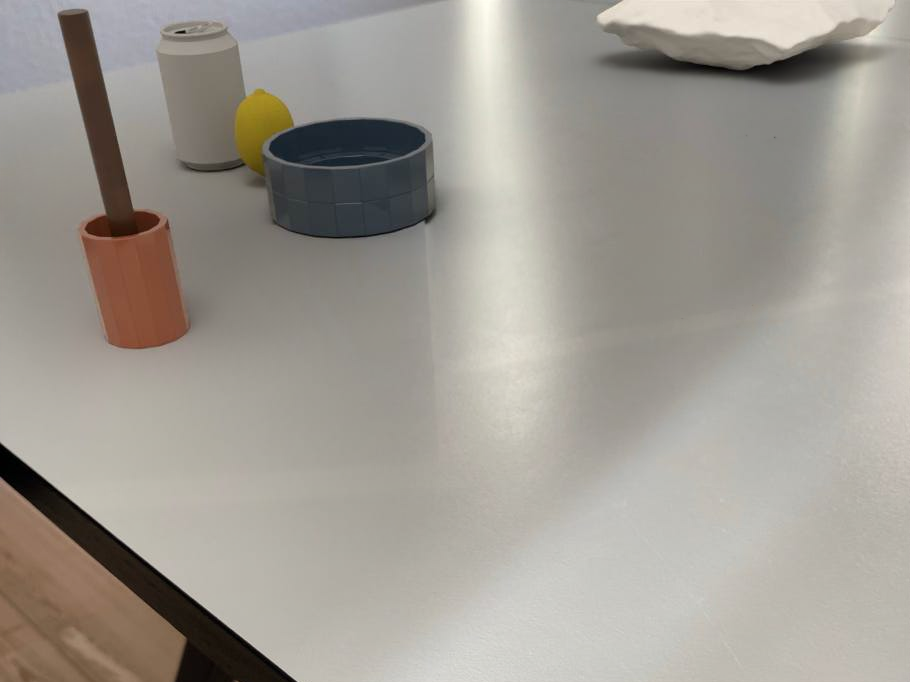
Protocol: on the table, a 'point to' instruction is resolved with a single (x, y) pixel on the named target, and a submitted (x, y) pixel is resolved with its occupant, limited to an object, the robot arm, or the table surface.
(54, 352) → the table surface
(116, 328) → the holder
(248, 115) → the lemon
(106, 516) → the table surface
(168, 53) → the can
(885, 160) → the table surface
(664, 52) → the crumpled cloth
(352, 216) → the bowl
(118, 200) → the stick
